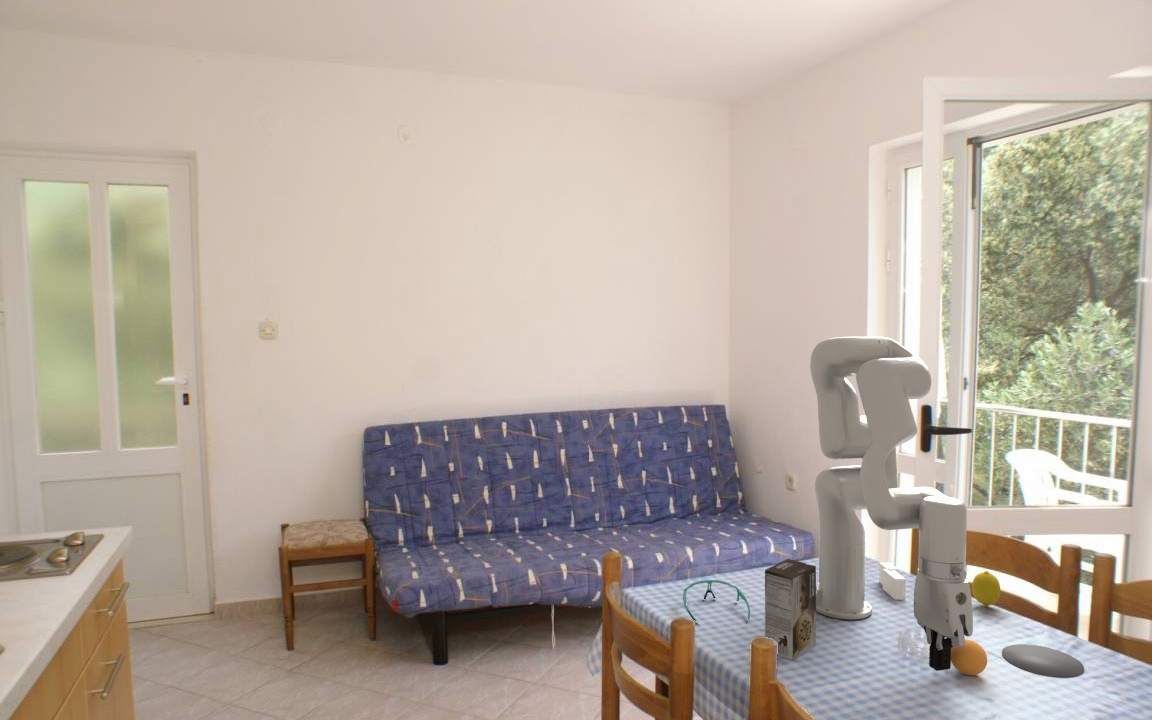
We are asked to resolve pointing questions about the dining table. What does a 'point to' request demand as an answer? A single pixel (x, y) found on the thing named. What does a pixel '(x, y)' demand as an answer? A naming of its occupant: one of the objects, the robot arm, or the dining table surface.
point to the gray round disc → (1043, 660)
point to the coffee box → (791, 607)
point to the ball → (969, 658)
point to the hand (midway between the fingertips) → (939, 667)
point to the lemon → (986, 588)
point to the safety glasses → (713, 594)
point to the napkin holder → (892, 581)
